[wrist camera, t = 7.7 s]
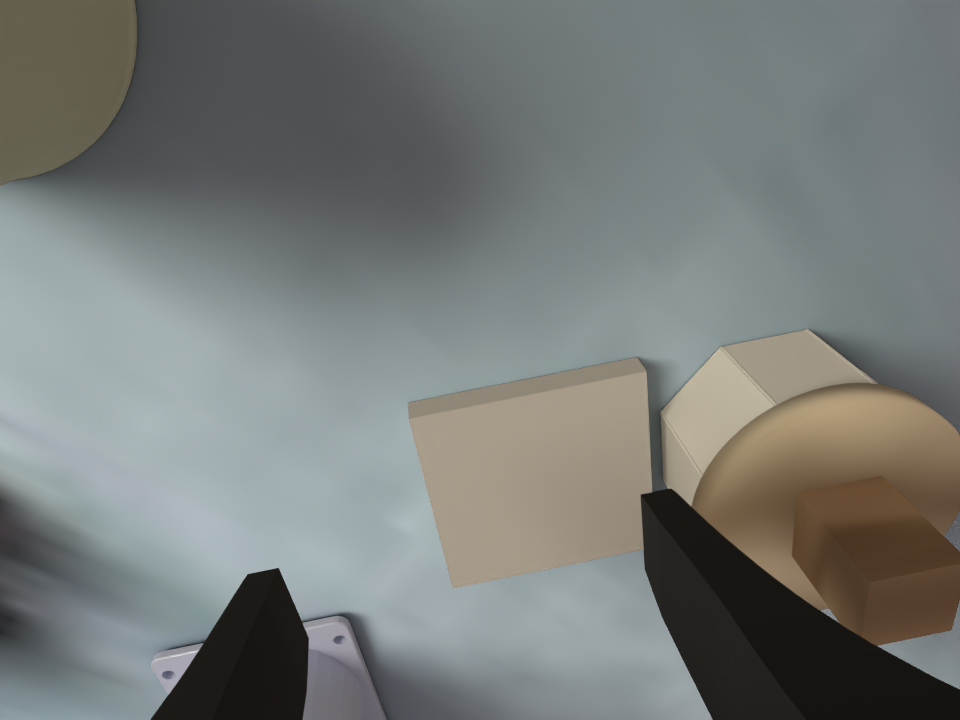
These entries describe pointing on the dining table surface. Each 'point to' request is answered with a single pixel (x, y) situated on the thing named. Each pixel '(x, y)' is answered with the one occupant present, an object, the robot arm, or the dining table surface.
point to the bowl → (741, 397)
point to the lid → (847, 506)
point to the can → (60, 78)
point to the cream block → (537, 470)
